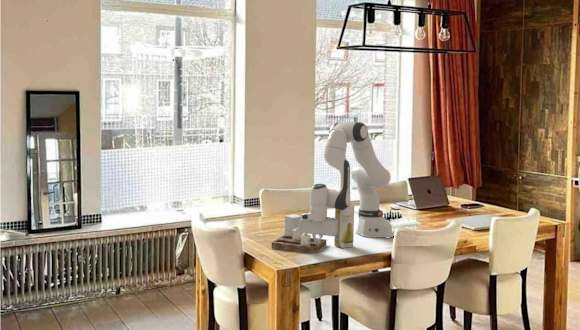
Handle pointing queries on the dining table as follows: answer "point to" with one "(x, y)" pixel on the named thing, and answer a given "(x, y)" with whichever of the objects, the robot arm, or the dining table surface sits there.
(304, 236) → the tab
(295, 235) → the tab
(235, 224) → the dining table surface
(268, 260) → the dining table surface
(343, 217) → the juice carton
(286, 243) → the switch board
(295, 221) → the supplement box
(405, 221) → the dining table surface
